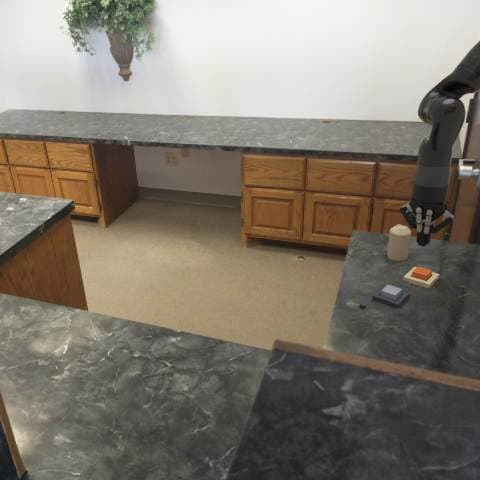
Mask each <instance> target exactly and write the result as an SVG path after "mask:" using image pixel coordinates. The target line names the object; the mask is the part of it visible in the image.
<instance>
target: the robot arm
mask: <svg viewBox="0 0 480 480" xmlns="http://www.w3.org/2000/svg"><path fill="white" fill-rule="evenodd" d="M479 91H480V40H479V41H477V42H476V43H475V44H474V45H473V46H472V47H471V48H470V49H469V51H468V52H467V53H466V54H465V56H463V58H462V59H461V60H460V62H458V63H457V65H456V67H454V69H453V70H452V72H451V73H449V74H448V75H447V76H445V77H444V78H443V79H441V80H440V81H439V82H438V83H437V84H436V85H434V86H433V87H432V88H431V89H430V90H429V91H428V92H427V93H426V94H425V95H424V97H423V98H422V99H421V101H420V102H419V104H418V108H417V116H418V119H420V121H421V122H423V123H425V124H427V125H430V126H431V130H430V134H429V135H427V136H425V137H423V138H422V139H421V140H420V142H419V145H418V152H417V161H416V166H415V169H414V174H413V184H412V192H411V199H410V201H409V202H408V204H403V205H402V206H401V207H400V208H399V212H400V213H401V215H402V216H403V218H404V220H405V222H406V223H407V225H408V226H409V229H414V230H416V239H415V241H416V243H417V245H418V246H419V247H426V246H428V245H429V244H430V243H431V239H432V234H437V233H438V232H440V231H441V230H443V229H444V228H445V227H446V226H448V225H449V224H450V223H452V222H453V221H454V220H456V218H457V216H456V214H454V213H450V212H449V211H448V208H449V207H448V205H447V199H448V194H449V187H450V181H451V174H452V160H453V159H452V158H453V152H454V146H455V144H456V142H457V140H458V138H459V136H460V133H461V131H462V128H463V126H464V123H465V120H466V116H467V115H466V114H467V113H466V106H465V104H464V102H463V101H462V100H461V98H462V97H464V96H465V95H469V94H475V93H478V92H479ZM440 217H441V220H442V221H441V222H439V223H438V224H437V225H436V226H435V223H436V220H437V219H439V218H440Z"/></svg>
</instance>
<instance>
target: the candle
mask: <svg viewBox="0 0 480 480" xmlns="http://www.w3.org/2000/svg"><path fill="white" fill-rule="evenodd" d="M388 235H389V236H388V245H387V256H386V257H387V259H389V260H391V261H394V262H405V261H407V260H408V258H409V253H410V244H411V236H412V230H411V228H410V227H408V225H403V224H401V223H397V224H396V225H394V226H392V227H391V228H390V229H389V234H388Z"/></svg>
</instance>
